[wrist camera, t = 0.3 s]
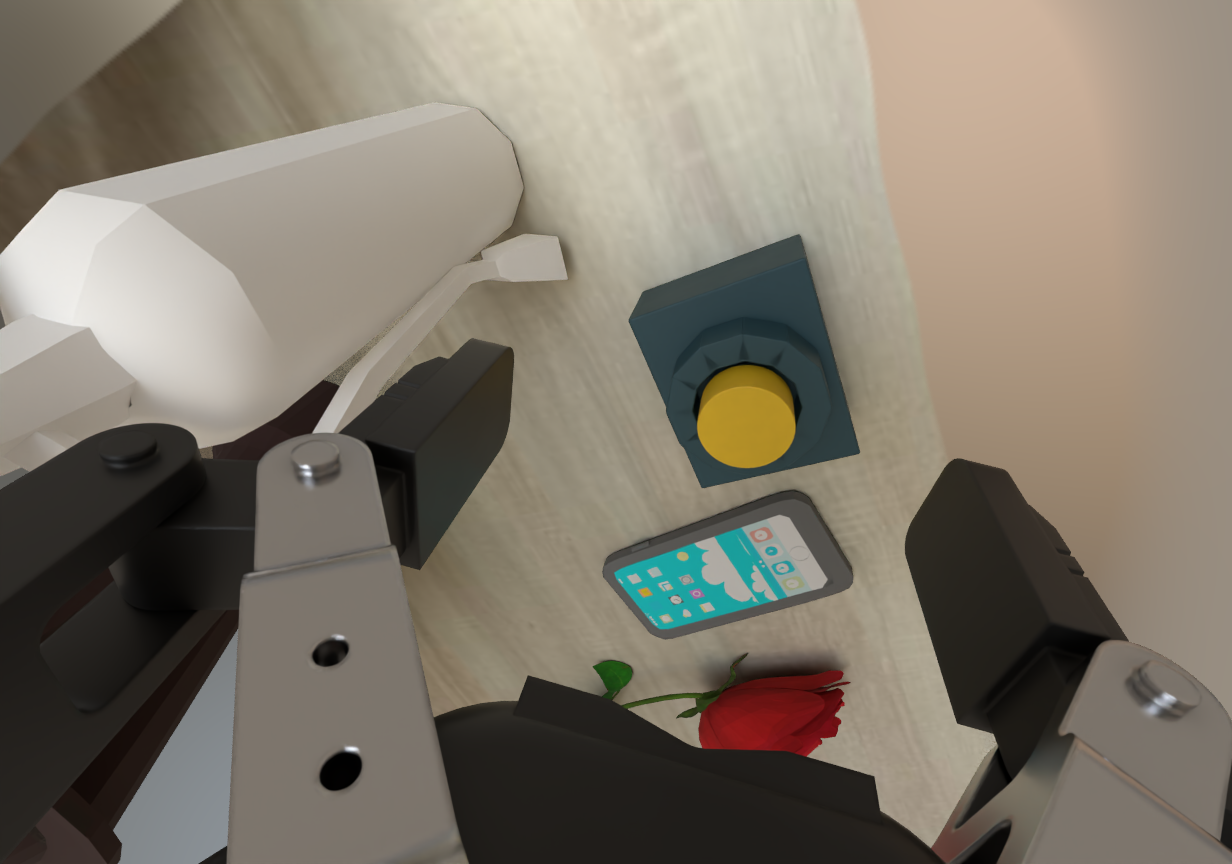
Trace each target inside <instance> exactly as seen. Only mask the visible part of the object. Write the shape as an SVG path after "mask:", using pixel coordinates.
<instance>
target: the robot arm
mask: <svg viewBox="0 0 1232 864" xmlns="http://www.w3.org/2000/svg"><path fill="white" fill-rule="evenodd" d="M513 368H514V353H513V350H512V348H511V347H507V346H503V345H499V344H495V343H491V342H486V341H482V340H478V339H474V338H472V339H470V340H469V341H468V342H466V343H465V344H464V345H463V346H462V347H461V348H460V349H459V350H458V351H457V352H456V353H455V354H454V355H453V356H452V357H451V358H450V359H446V358H442V357H437V358H434V359H432V360H429V361H427V362H424V363H421V364H419V365H416V366H414V367H413V368H412V369H411V370H410V371H408V372H407V373H406V374H405V375H404V376H403V377H402V378H400V379H399V380H398V384H397V383H395V384H394V385H392V386H391V387H390V388H389V389H388V390H387V391H385V395H381V396H380V397H379V398H377V399H376V400H375V401H374V402H373V403H372V404H371V405H369V406H368V407H367V408H366V409H365V410H364V411H363V412H361V413H360V414H359V415H358V416H357V417H356V418H355V419H353V420H352V421H351V422H350V423H349V424H348V425H347V426H345V427H344V428H343V429H342V430H341V431H340V432H339V433H312V434H306V435H301V436H297V437H294V438H291V439H288V440H286V441H284V442H281V443H279V444H277V445H276V446H274V447H273V448H271V449H270V450H269V451H268V452H266V453H265V454H264V456H263V457H262V458H261V460H233V459H206V458H202V457H201V454H200V451H199V448H198V444H197V441H196V438H195V437H194V435H193V434H192V433H191V432H189V431H188V430H186V429H184V428H182V427H179V426H175V425H171V424H164V423H141V424H132V425H126V426H121V427H117V428H113V429H109V430H106V431H103V432H100V433H97V434H95V435H93V436H90V437H88V438H86V439H84V440H82V441H80V442H79V443H77V444H75V445H74V446H72V447H70V448H69V449H67V450H65V451H64V452H62V453H60V454H59V455H57V456H55V457H54V458H52V459H50V460H49V461H47V462H45V463H44V464H42V465H40V466H39V467H37V468H35V469H34V470H32V471H30V472H29V473H28V474H25V475H24V476H22V477H21V478H19V479H17V480H15V481H14V482H12V483H10V484H9V485H7V486H6V487H4V488H2V489H1V490H0V864H2V863H3V862H4V860H5V859H6V858H7V857H8V856H9V855H10V854H11V853H12V851H13V850H14V849H15V848H16V847H17V846H18V845H19V843H20V842H21V841H22V840H23V839H24V838H25V837H26V836H27V834H28V833H29V832H30V831H31V830H32V829H33V828H34V827H35V825H36V824H37V823H38V822H39V821H40V820H41V819H42V818H43V816H44V815H45V814H46V813H47V812H48V811H49V810H50V809H51V807H52V806H53V805H54V804H55V803H56V802H57V801H58V800H59V798H60V797H61V796H62V795H63V794H64V793H65V792H66V790H67V789H68V788H69V787H70V786H71V785H72V784H73V783H74V781H75V780H76V779H77V778H78V777H79V776H80V775H81V774H82V772H83V771H84V770H85V769H86V768H87V767H88V766H89V765H90V763H91V762H92V761H93V760H94V759H95V758H96V757H97V756H98V754H99V753H100V752H101V751H102V750H103V749H104V748H105V747H106V745H107V744H108V743H109V742H110V741H111V740H112V739H113V737H114V736H115V735H116V734H117V733H118V732H119V731H120V730H121V728H122V727H123V726H124V725H125V724H126V723H127V722H128V721H129V719H130V718H131V717H132V716H133V715H134V714H135V713H136V712H137V710H138V709H139V708H140V707H141V706H142V705H143V704H144V703H145V701H146V700H147V699H148V698H149V697H150V696H151V695H152V694H153V692H154V691H155V690H156V689H157V688H158V687H159V686H160V684H161V683H162V682H163V681H164V680H165V679H166V678H167V677H168V675H169V674H170V673H171V672H172V671H173V670H174V669H175V668H176V666H177V665H178V664H179V663H180V662H181V661H182V660H183V659H184V657H185V656H186V655H187V654H188V653H189V652H190V651H191V650H192V648H193V647H194V646H195V645H196V644H197V643H198V642H199V641H200V639H201V638H202V637H203V636H204V635H205V634H206V633H207V631H208V630H209V629H210V628H211V627H212V626H213V625H214V624H215V622H216V621H217V620H218V619H219V618H220V617H221V616H222V615H223V613H224V612H225V611H226V610H239V626H238V647H237V667H236V687H235V707H234V726H233V745H232V746H233V747H232V766H231V785H230V787H231V788H230V805H229V806H230V807H229V826H228V845H227V846H226V847H224V848H223V849H221V850H220V851H218V852H216V853H215V854H213V855H212V856H210V857H208V858H207V859H205V860H204V861H202V862H200V863H199V864H1232V720H1231V719H1230V717H1229V715H1228V713H1227V711H1226V710H1225V709H1224V707H1223V706H1222V704H1221V703H1220V702H1219V701H1218V700H1217V698H1216V697H1215V696H1214V695H1213V694H1212V693H1211V692H1210V691H1209V690H1208V689H1207V688H1206V687H1205V686H1204V685H1203V684H1202V683H1201V682H1199V681H1198V680H1197V679H1196V678H1195V677H1194V676H1192V675H1191V674H1190V673H1189V672H1187V671H1186V670H1184V669H1183V668H1181V667H1180V666H1179V665H1177V664H1176V663H1174V662H1173V661H1171V660H1169V659H1168V658H1166V657H1164V656H1162V655H1161V654H1159V653H1157V652H1154V651H1153V650H1151V649H1148V648H1146V647H1143V646H1141V645H1138V644H1135V643H1131V642H1129V641H1128V639H1127V637H1126V636H1125V634H1124V633H1123V631H1122V630H1121V628H1120V626H1119V625H1118V623H1117V622H1116V620H1115V619H1114V617H1113V616H1112V614H1111V613H1110V611H1109V610H1108V608H1107V607H1106V605H1105V603H1104V602H1103V600H1102V599H1101V598H1100V596H1099V595H1098V593H1097V591H1096V590H1095V588H1094V587H1093V585H1092V584H1091V582H1090V581H1089V579H1088V578H1087V577H1083V574H1084V571H1083V570H1082V568H1081V567H1080V565H1079V564H1078V562H1077V561H1076V559H1075V557H1071V556H1070V554H1071V551H1070V550H1069V548H1068V547H1067V545H1066V544H1065V542H1064V541H1063V539H1062V538H1061V536H1060V534H1059V533H1058V532H1057V530H1056V528H1054V527H1053V526H1052V525H1051V524H1050V523H1049V522H1048V521H1047V520H1046V519H1045V518H1044V517H1042V516H1041V515H1040V514H1039V513H1038V512H1037V511H1036V510H1035V509H1034V508H1033V507H1031V506H1030V505H1028V504H1027V502H1026V500H1025V499H1024V497H1023V496H1022V494H1021V493H1020V491H1019V489H1018V488H1017V486H1016V484H1015V483H1014V481H1013V480H1012V478H1011V477H1010V475H1009V473H1008V472H1007V471H1005V470H1003V469H1000V468H996V467H992V466H988V465H984V464H980V463H976V462H972V461H967V460H964V459H954V460H952V461H951V462H950V463H948V465H947V466H946V467H945V468H944V470H943V471H942V473H941V475H940V476H939V478H938V480H937V481H936V483H935V484H934V486H933V488H932V489H931V491H930V493H929V494H928V496H927V497H926V499H925V501H924V502H923V504H922V506H921V507H920V509H919V511H918V512H917V514H916V515H915V517H914V519H913V520H912V522H911V524H910V526H909V529H908V532H907V535H906V541H905V555H906V559H907V562H908V566H909V569H910V572H911V575H912V579H913V582H914V585H915V588H916V592H917V595H918V598H919V601H920V605H921V608H922V611H923V614H924V618H925V621H926V624H927V627H928V631H929V634H930V637H931V640H932V644H933V647H934V650H935V653H936V657H937V660H938V663H939V666H940V670H941V673H942V676H943V679H944V683H945V686H946V689H947V692H948V696H949V699H950V702H951V705H952V709H953V712H954V715H955V718H956V722H957V724H961V725H964V726H968V727H971V728H975V729H979V730H982V731H986V732H989V733H993V734H994V736H995V739H996V742H997V745H996V746H995V747H994V748H993V749H992V750H991V751H990V752H989V753H988V754H987V755H986V756H985V757H984V759H983V760H982V762H981V764H980V766H979V767H978V769H977V771H976V772H975V774H974V776H973V778H972V779H971V781H970V783H969V785H968V786H967V788H966V790H965V792H964V793H963V795H962V797H961V799H960V800H959V802H958V804H957V806H956V807H955V809H954V811H953V812H952V814H951V816H950V818H949V819H948V821H947V823H946V825H945V826H944V828H943V830H942V832H941V833H940V835H939V837H938V838H937V840H936V842H935V843H934V845H933V846H932V847H931V848H930V847H929V846H927V845H926V844H925V843H924V842H923V841H921V840H920V839H919V838H918V837H917V836H915V835H914V834H913V833H912V832H911V831H909V830H908V829H907V828H905V827H904V826H902V825H901V824H900V823H898V822H897V821H895V820H894V819H892V818H891V817H890V816H888V815H886V814H885V813H883V812H881V811H880V808H879V802H878V796H877V790H876V784H875V778H874V776H871V775H867V774H864V773H861V772H857V771H854V770H850V769H847V768H843V767H840V766H837V765H833V764H830V763H826V762H823V761H819V760H816V759H813V758H809V757H806V756H802V755H799V754H796V753H792V752H789V751H777V750H739V749H704V748H697V747H694V746H691V745H689V744H687V743H685V742H683V741H681V740H680V739H678V738H676V737H674V736H673V735H671V734H669V733H667V732H666V731H664V730H662V729H660V728H659V727H657V726H655V725H654V724H652V723H650V722H648V721H647V720H645V719H643V718H641V717H640V716H638V715H636V714H635V713H633V712H631V711H629V710H628V709H626V708H624V707H622V706H621V705H619V704H617V703H616V702H614V701H612V700H610V699H607V698H604V697H601V696H597V695H594V694H590V693H587V692H583V691H580V690H577V689H573V688H570V687H566V686H563V685H559V684H556V683H553V682H549V681H546V680H542V679H539V678H535V677H532V676H529V675H528V677H527V679H526V682H525V685H524V687H523V690H522V693H521V695H520V698H519V701H498V702H488V703H480V704H476V705H471V706H467V707H462V708H459V709H456V710H453V711H450V712H447V713H444V714H441V715H438V716H436V717H433V713H432V708H431V704H430V699H429V694H428V690H427V685H426V681H425V676H424V671H423V667H422V662H421V658H420V653H419V648H418V644H417V639H416V635H415V630H414V625H413V621H412V616H411V612H410V607H409V603H408V598H407V593H406V589H405V584H404V580H403V575H402V570H401V566H400V565H404V566H407V567H411V568H414V569H418V570H420V569H421V568H422V566H423V565H424V563H425V562H426V560H427V559H428V557H429V556H430V554H431V553H432V551H433V550H434V548H435V547H436V545H437V544H438V542H439V541H440V539H441V538H442V536H443V535H444V533H445V532H446V530H447V529H448V527H449V526H450V524H451V523H452V521H453V520H454V518H455V517H456V515H457V514H458V512H459V511H460V509H461V508H462V506H463V505H464V503H465V502H466V500H467V499H468V497H469V496H470V494H471V493H472V491H473V490H474V488H475V487H476V485H477V484H478V482H479V481H480V479H481V478H482V476H483V475H484V473H485V472H486V470H487V469H488V467H489V466H490V464H491V463H492V461H493V460H494V458H495V457H496V456H497V454H498V453H499V451H500V449H501V448H502V446H503V443H504V441H505V438H506V435H507V432H508V427H509V422H510V411H511V397H512V383H513ZM107 568H109V570H110V572H111V574H112V576H113V578H114V581H113V582H112V583H110V584H109V585H108V586H107V587H106V588H105V589H103V590H102V591H101V592H100V593H99V594H98V595H97V596H95V597H94V598H93V599H92V600H91V601H90V602H88V603H87V604H86V605H85V606H84V607H83V608H82V609H80V610H79V611H78V612H77V613H76V614H75V615H73V616H72V617H71V618H70V619H69V620H68V621H67V622H65V623H64V624H63V625H62V626H61V627H60V628H58V629H57V630H56V631H55V632H54V633H53V634H52V635H50V636H49V637H48V638H47V639H46V640H45V641H43V642H42V643H41V644H40V639H41V635H42V633H43V630H44V628H45V626H46V625H47V623H48V621H49V620H50V618H51V617H52V616H53V615H54V614H55V612H56V611H57V610H58V609H59V608H60V607H62V606H63V605H64V604H65V603H66V602H67V601H69V600H70V599H71V598H72V597H73V596H75V595H76V594H77V593H78V592H79V591H81V590H82V589H83V588H84V587H85V586H86V585H88V584H89V583H90V582H91V581H92V580H94V579H95V578H96V577H97V576H98V575H100V574H101V573H102V572H103V571H104V570H106V569H107Z"/></svg>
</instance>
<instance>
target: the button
mask: <svg viewBox="0 0 1232 864" xmlns="http://www.w3.org/2000/svg"><path fill="white" fill-rule="evenodd" d="M795 430H796V424H795V414H794V405H793V397H792V393H791V391H790V389H789V387H788V385H787V384H786V382H785V381H784V380H783V379H782V378H781V377H780V376H779V375H777V374H776V373H774V372H773V371H771V370H769V369H766V368H764V367H760V366H755V365H739V366H734V367H731V368H728V369H726V370H724V371H722V372H720V373H718V374H717V375H716V376H714V377H713V378H712V379H711V380H710V381H709V383H708V384H707V386H706V387H705V389H704V391H703V394H702V397H701V403H700V409H699V415H698V421H697V432H698V436H699V439H700V441H701V443H702V445H703V447H704V448H705V450H706V451H707V452H708V453H709V454H710V455H711V456H712V457H714V458H715V459H717V460H718V461H720V462H722V463H724V464H727V465H729V466H733V467H739V468H755V467H760V466H764V465H767V464H769V463H771V462H773V461H775V460H777V459H778V458H779V457H781V456H782V455H783V454H784V453H785V452H786V451H787V450H788V448H789V447H790V445H791V444H792V441H793V439H794V436H795Z"/></svg>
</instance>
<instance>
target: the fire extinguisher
mask: <svg viewBox="0 0 1232 864" xmlns="http://www.w3.org/2000/svg"><path fill="white" fill-rule="evenodd" d="M523 188H524V186H523V183H522V179H521V175H520V172H519V168H518V165H517V161H516V158H515V154H514V151H513V147H512V143H511V141H510V140H509V139H508V138H507V137H506V136H505V135H504V134H503V133H501V132H500V131H499V130H498V129H497V128H496V127H495V126H494V125H493V124H492V123H491V122H490V121H489V120H488V119H487V118H486V117H485V116H484V115H483V114H482V113H481V112H480V111H479V110H478V109H477V108H472V107H465V106H458V105H451V104H443V103H436V102H434V103H429V104H425V105H421V106H417V107H412V108H408V109H404V110H399V111H395V112H391V113H387V114H382V115H378V116H374V117H369V118H365V119H361V120H357V121H352V122H348V123H344V124H339V125H335V126H331V127H327V128H322V129H318V130H314V131H309V132H305V133H301V134H297V135H292V136H288V137H284V138H279V139H275V140H271V141H267V142H262V143H258V144H254V145H249V146H245V147H241V148H237V149H232V150H228V151H224V152H219V153H215V154H211V155H207V156H202V157H198V158H194V159H190V160H185V161H181V162H177V163H172V164H168V165H164V166H160V167H155V168H151V169H147V170H142V171H138V172H134V173H130V174H125V175H121V176H117V177H112V178H108V179H104V180H100V181H95V182H91V183H87V184H82V185H78V186H74V187H70V188H65V189H61V190H59V191H58V192H57V193H56V194H55V195H54V196H53V197H52V198H51V199H50V200H49V201H48V202H47V204H46V205H45V206H44V207H43V208H42V209H41V210H40V211H39V212H38V213H37V214H36V215H35V216H34V218H33V219H32V220H31V221H30V222H29V223H28V224H27V225H26V226H25V227H24V228H23V229H22V230H21V232H20V233H19V234H18V235H17V236H16V237H15V239H14V240H13V241H12V242H11V243H10V244H9V245H8V247H7V248H6V249H5V250H4V251H3V252H2V254H1V255H0V308H1V312H2V315H3V319H4V322H5V327H4V328H2V329H0V476H2V475H4V474H6V473H9V472H11V471H13V470H16V469H18V468H21V467H22V468H24V469H25V470H27V471H29V472H30V471H32V470H34V469H35V468H37V467H39V466H40V465H42V464H44V463H45V462H47V461H49V460H50V459H52V458H54V457H55V456H57V455H59V454H60V453H62V452H64V451H65V450H67V449H69V448H70V447H72V446H74V445H75V444H77V443H79V442H80V441H82V440H84V439H86V438H88V437H90V436H93V435H95V434H97V433H100V432H103V431H106V430H109V429H113V428H117V427H121V426H126V425H132V424H141V423H164V424H171V425H175V426H179V427H182V428H184V429H186V430H188V431H189V432H191V433H192V434H193V435H194V437H195V438H196V441H197V444H198V448H199V449H200V448H205V447H210V446H214V445H219V444H223V443H228V442H233V441H235V440H236V439H238V438H240V437H242V436H244V435H245V434H247V433H249V432H251V431H253V430H255V429H256V428H258V427H260V426H262V425H264V424H265V423H267V422H269V421H271V420H273V419H274V418H276V417H278V416H279V415H280V414H281V413H283V412H284V411H285V410H286V409H288V408H289V407H290V406H291V405H292V404H294V403H295V402H296V401H297V400H299V399H300V398H301V397H302V396H304V395H305V394H306V393H307V392H308V391H310V390H311V389H312V388H313V387H315V386H316V385H317V384H318V383H319V382H321V381H322V380H323V379H324V378H326V377H327V376H328V375H329V374H330V373H332V372H333V371H334V370H335V369H337V368H338V367H339V366H340V365H342V364H343V363H344V362H345V361H346V360H348V359H349V358H350V357H351V356H353V355H354V354H355V353H356V352H357V351H359V350H360V349H361V348H362V347H364V346H365V345H366V344H367V343H368V342H370V341H371V340H372V339H373V338H375V337H376V336H377V335H378V334H379V333H381V332H382V331H383V330H384V329H386V328H387V327H388V326H389V325H391V324H392V323H393V322H394V321H395V320H397V319H398V318H399V317H400V316H402V315H403V314H404V313H405V312H406V311H408V310H409V309H410V308H411V307H413V306H414V305H415V304H416V303H417V302H418V303H417V304H416V305H415V306H414V307H413V308H412V309H411V310H410V311H409V312H408V313H407V314H406V315H405V316H404V317H403V318H402V319H401V320H400V321H399V322H398V323H397V324H396V325H395V326H394V327H393V328H392V329H391V330H390V331H389V332H388V333H387V334H386V335H385V336H384V337H383V338H382V339H381V340H380V341H379V342H378V343H377V344H376V345H375V346H374V347H373V348H372V349H371V350H370V351H369V352H368V353H367V354H366V355H365V356H364V357H363V358H362V359H361V360H360V361H359V362H358V363H357V364H356V365H355V366H354V367H353V368H352V369H351V370H350V371H349V372H348V374H347V375H346V377H345V379H344V381H343V382H342V384H341V386H340V387H339V389H338V391H337V392H336V394H335V396H334V397H333V399H332V401H331V402H330V404H329V406H328V407H327V409H326V411H325V412H324V414H323V416H322V418H321V419H320V421H319V423H318V424H317V426H316V428H315V429H314V431H313V433H339V432H340V431H341V430H342V429H343V428H344V427H345V426H347V425H348V424H349V423H350V422H351V421H352V420H353V419H355V418H356V417H357V416H358V415H359V414H360V413H361V412H363V411H364V410H365V409H366V408H367V407H368V406H369V405H371V404H372V403H373V402H374V401H375V399H376V397H377V395H378V394H379V392H380V390H381V388H382V386H383V385H384V384H385V383H386V382H387V381H388V379H389V378H390V377H391V376H392V375H393V374H394V373H395V371H396V370H397V369H398V368H399V367H400V366H401V364H402V363H403V362H404V361H405V360H406V359H407V357H408V356H409V355H410V354H411V353H412V352H413V351H414V349H415V348H416V347H417V346H418V345H419V344H420V342H421V341H422V340H423V339H424V338H425V337H426V335H427V334H428V333H429V332H430V331H431V330H432V329H433V327H434V326H435V325H436V324H437V323H438V322H439V320H440V319H441V318H442V317H443V316H444V315H445V313H446V312H447V311H448V310H449V309H450V308H451V307H452V305H453V304H454V303H455V302H456V301H457V300H458V298H459V297H460V296H461V295H462V294H463V293H464V291H465V290H466V289H467V288H468V287H469V286H470V285H471V284H472V283H476V282H480V281H483V280H493V281H507V282H525V281H547V280H568V276H567V272H566V268H565V264H564V260H563V256H562V252H561V248H560V244H559V239H558V237H557V236H546V235H534V234H522V235H520V236H517V237H515V238H512V239H510V240H507V241H504V242H502V243H499V244H497V245H494V246H492V247H489V248H487V249H484V248H485V247H486V246H487V245H489V244H490V243H491V242H492V241H493V240H495V239H496V238H497V237H498V236H500V235H501V234H502V233H503V232H504V231H506V230H507V229H508V228H509V227H511V226H512V223H513V220H514V217H515V214H516V211H517V207H518V204H519V201H520V198H521V195H522V191H523ZM482 249H484V250H482ZM481 250H482V251H481ZM480 251H481V255H482V260H480V261H475V262H470V263H466V262H468V261H469V260H470V259H471V258H473V257H474V256H475V255H476V254H477V253H479V252H480ZM465 263H466V264H465Z"/></svg>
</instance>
